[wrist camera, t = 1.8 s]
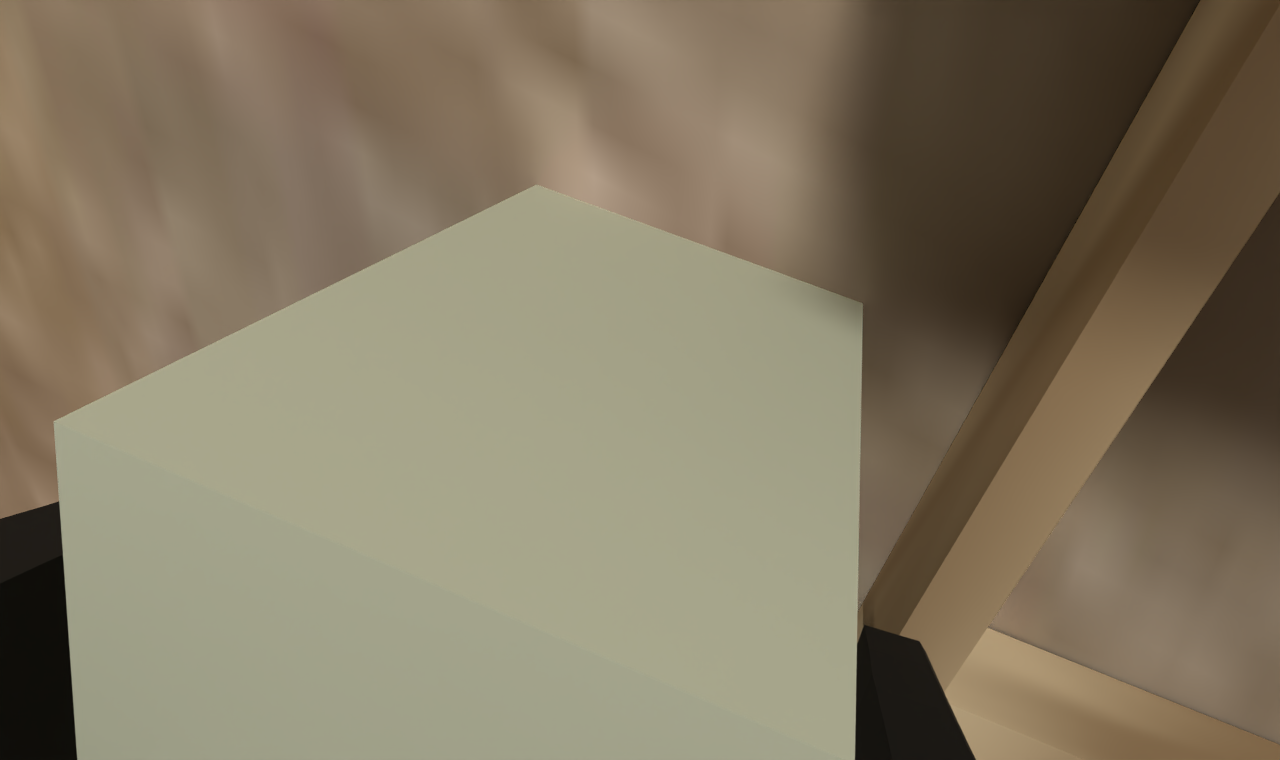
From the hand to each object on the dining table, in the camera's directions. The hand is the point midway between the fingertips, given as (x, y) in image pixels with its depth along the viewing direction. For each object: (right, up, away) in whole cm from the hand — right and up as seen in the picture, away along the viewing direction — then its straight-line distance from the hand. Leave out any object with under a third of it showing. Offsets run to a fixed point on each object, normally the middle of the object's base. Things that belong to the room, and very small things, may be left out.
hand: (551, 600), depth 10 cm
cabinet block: (+1, +1, +2) cm, 3 cm away
